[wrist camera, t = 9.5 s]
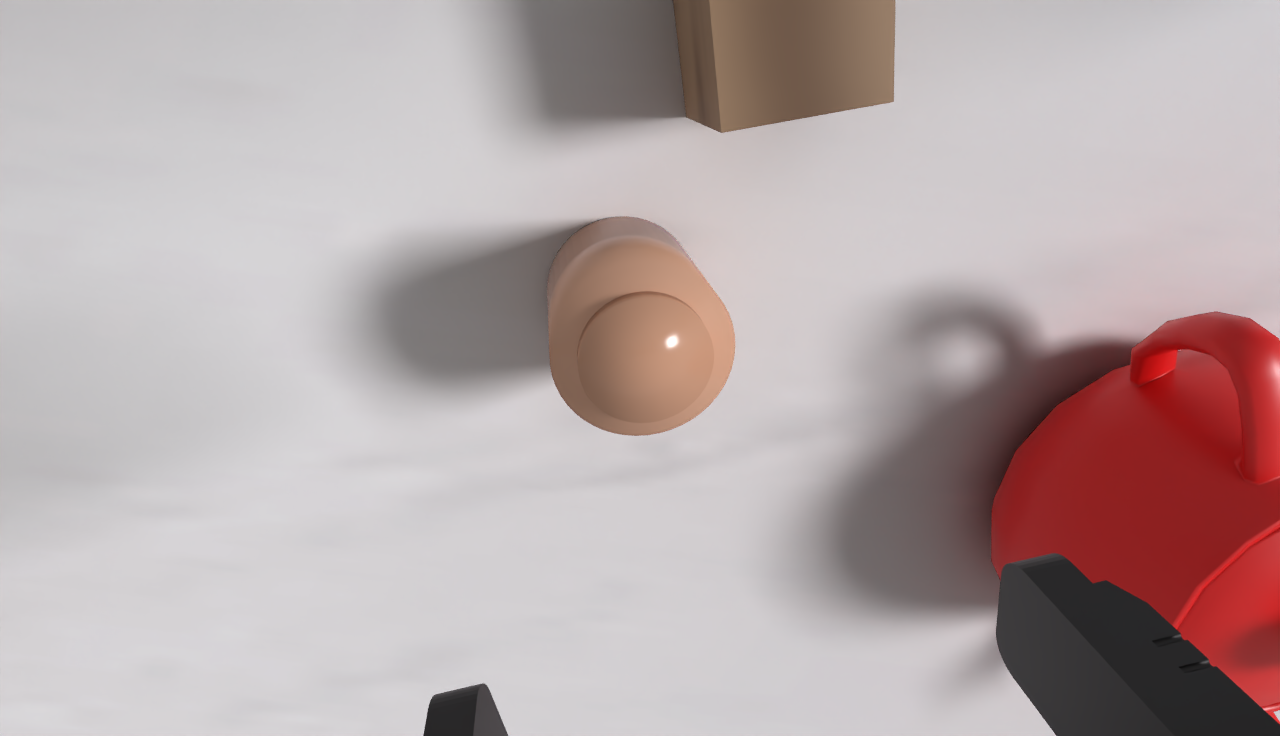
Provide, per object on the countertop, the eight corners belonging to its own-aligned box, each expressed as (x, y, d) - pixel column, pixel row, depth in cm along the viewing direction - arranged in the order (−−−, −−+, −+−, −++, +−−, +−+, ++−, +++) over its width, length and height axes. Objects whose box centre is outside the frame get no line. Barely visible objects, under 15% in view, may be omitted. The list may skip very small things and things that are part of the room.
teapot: (904, 344, 28) (1136, 530, 17) (1259, 178, 27) (1747, 264, 16) (1005, 690, 39) (1186, 937, 28) (1261, 582, 38) (1550, 795, 27)
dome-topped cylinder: (682, 202, 24) (728, 251, 18) (702, 340, 27) (749, 423, 21) (530, 233, 24) (528, 294, 18) (565, 371, 26) (573, 463, 21)
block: (821, -77, 21) (897, -111, 17) (825, 92, 23) (893, 101, 19) (666, -52, 21) (701, -80, 16) (685, 116, 23) (721, 132, 19)
